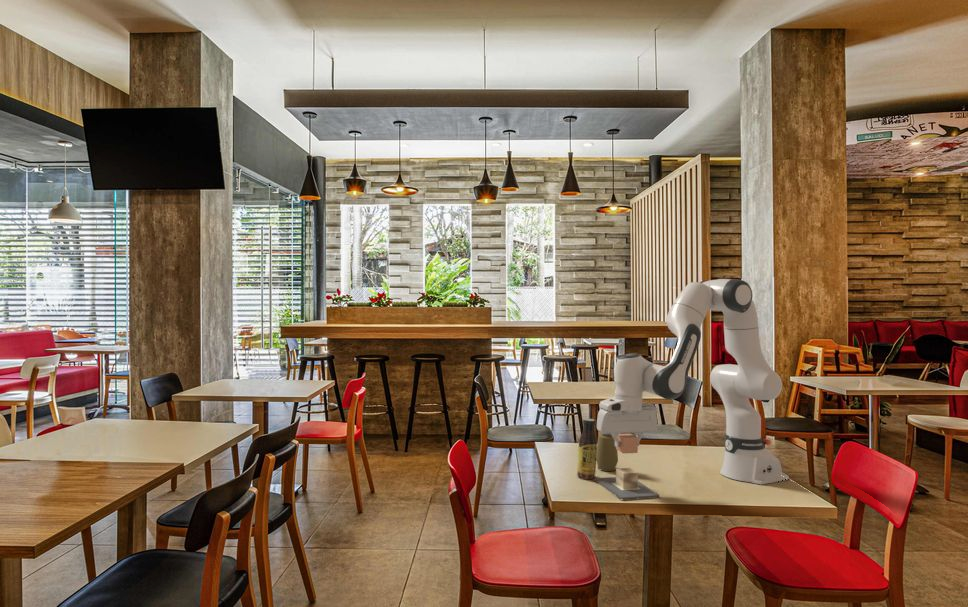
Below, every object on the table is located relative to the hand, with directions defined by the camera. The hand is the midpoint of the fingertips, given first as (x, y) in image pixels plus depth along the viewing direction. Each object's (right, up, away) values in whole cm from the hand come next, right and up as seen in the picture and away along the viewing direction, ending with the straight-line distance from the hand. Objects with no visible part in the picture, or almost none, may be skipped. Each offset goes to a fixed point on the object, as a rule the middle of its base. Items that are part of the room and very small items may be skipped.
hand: (626, 446), depth 170 cm
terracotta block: (0, -2, 0) cm, 2 cm away
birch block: (0, -13, 0) cm, 13 cm away
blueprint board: (0, -14, 0) cm, 14 cm away
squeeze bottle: (-2, -14, +20) cm, 25 cm away
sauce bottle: (-11, -14, +11) cm, 21 cm away
